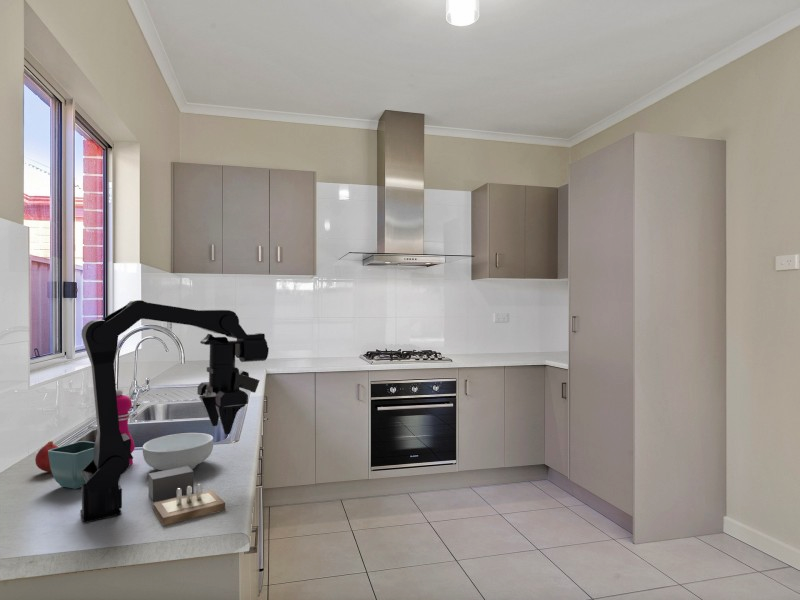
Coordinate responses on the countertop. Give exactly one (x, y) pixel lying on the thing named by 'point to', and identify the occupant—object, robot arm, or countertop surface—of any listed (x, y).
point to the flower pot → (71, 463)
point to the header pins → (188, 494)
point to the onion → (44, 457)
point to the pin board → (188, 507)
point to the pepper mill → (124, 416)
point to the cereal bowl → (178, 450)
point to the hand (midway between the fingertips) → (221, 429)
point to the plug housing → (170, 483)
